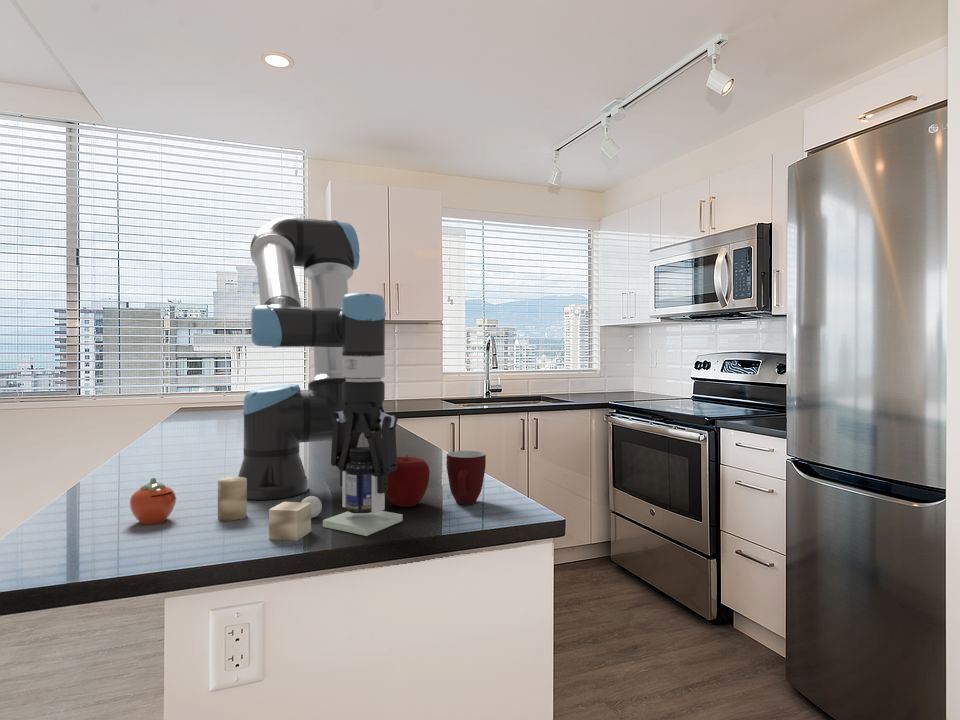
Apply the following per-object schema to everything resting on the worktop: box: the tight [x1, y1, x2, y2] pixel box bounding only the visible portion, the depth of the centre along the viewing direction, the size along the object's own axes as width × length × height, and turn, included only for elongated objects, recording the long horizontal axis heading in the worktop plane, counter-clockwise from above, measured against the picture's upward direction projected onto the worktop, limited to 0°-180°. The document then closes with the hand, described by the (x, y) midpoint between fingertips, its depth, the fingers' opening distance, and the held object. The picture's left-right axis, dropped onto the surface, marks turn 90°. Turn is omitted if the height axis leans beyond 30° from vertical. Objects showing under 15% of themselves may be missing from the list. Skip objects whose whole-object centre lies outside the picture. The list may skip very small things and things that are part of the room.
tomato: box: [129, 477, 177, 526], centre depth 105 cm, size 7×7×8 cm
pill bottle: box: [345, 446, 375, 514], centre depth 104 cm, size 6×6×11 cm
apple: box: [385, 454, 430, 508], centre depth 117 cm, size 10×10×10 cm
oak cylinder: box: [217, 476, 248, 522], centre depth 108 cm, size 5×5×7 cm
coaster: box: [322, 510, 404, 537], centre depth 104 cm, size 10×10×1 cm
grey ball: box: [300, 495, 323, 519], centre depth 108 cm, size 4×4×4 cm
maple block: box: [268, 501, 312, 542], centre depth 98 cm, size 5×5×5 cm
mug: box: [446, 450, 487, 506], centre depth 118 cm, size 11×8×10 cm
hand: (363, 507), depth 104 cm, fingers closed on pill bottle, 6 cm apart
